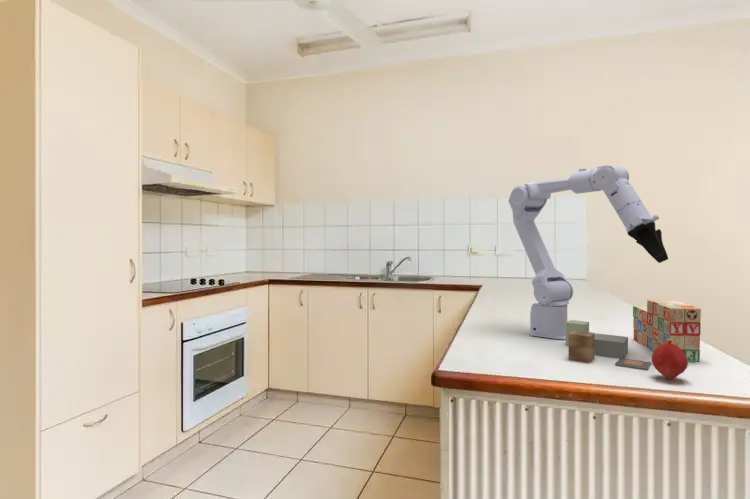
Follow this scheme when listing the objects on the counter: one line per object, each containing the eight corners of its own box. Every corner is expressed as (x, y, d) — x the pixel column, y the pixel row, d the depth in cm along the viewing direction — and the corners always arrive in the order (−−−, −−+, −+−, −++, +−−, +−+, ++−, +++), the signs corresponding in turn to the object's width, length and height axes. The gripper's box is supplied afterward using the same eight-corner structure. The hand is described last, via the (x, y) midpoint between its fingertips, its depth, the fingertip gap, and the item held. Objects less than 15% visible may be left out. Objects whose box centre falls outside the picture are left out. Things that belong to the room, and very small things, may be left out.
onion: (644, 375, 87) (644, 335, 87) (671, 374, 88) (671, 334, 88) (666, 384, 82) (666, 342, 81) (695, 383, 82) (695, 341, 82)
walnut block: (568, 360, 99) (568, 333, 99) (573, 355, 102) (573, 330, 102) (590, 363, 96) (590, 336, 96) (594, 358, 100) (594, 332, 99)
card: (615, 365, 94) (615, 363, 94) (620, 359, 99) (620, 357, 99) (647, 370, 90) (647, 368, 90) (651, 363, 95) (651, 361, 95)
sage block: (565, 345, 112) (565, 322, 111) (570, 342, 115) (570, 319, 115) (584, 348, 109) (584, 324, 109) (589, 344, 112) (589, 321, 112)
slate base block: (590, 355, 103) (590, 338, 103) (595, 349, 109) (595, 333, 109) (623, 360, 99) (623, 342, 99) (627, 353, 105) (627, 336, 104)
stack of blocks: (632, 339, 117) (632, 294, 117) (658, 340, 116) (658, 294, 116) (669, 362, 97) (669, 307, 96) (700, 363, 95) (701, 307, 95)
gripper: (641, 191, 96) (676, 244, 90) (652, 206, 106) (683, 255, 101) (609, 207, 99) (641, 260, 93) (623, 221, 110) (652, 268, 104)
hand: (661, 258), depth 97 cm, fingers open, 7 cm apart
